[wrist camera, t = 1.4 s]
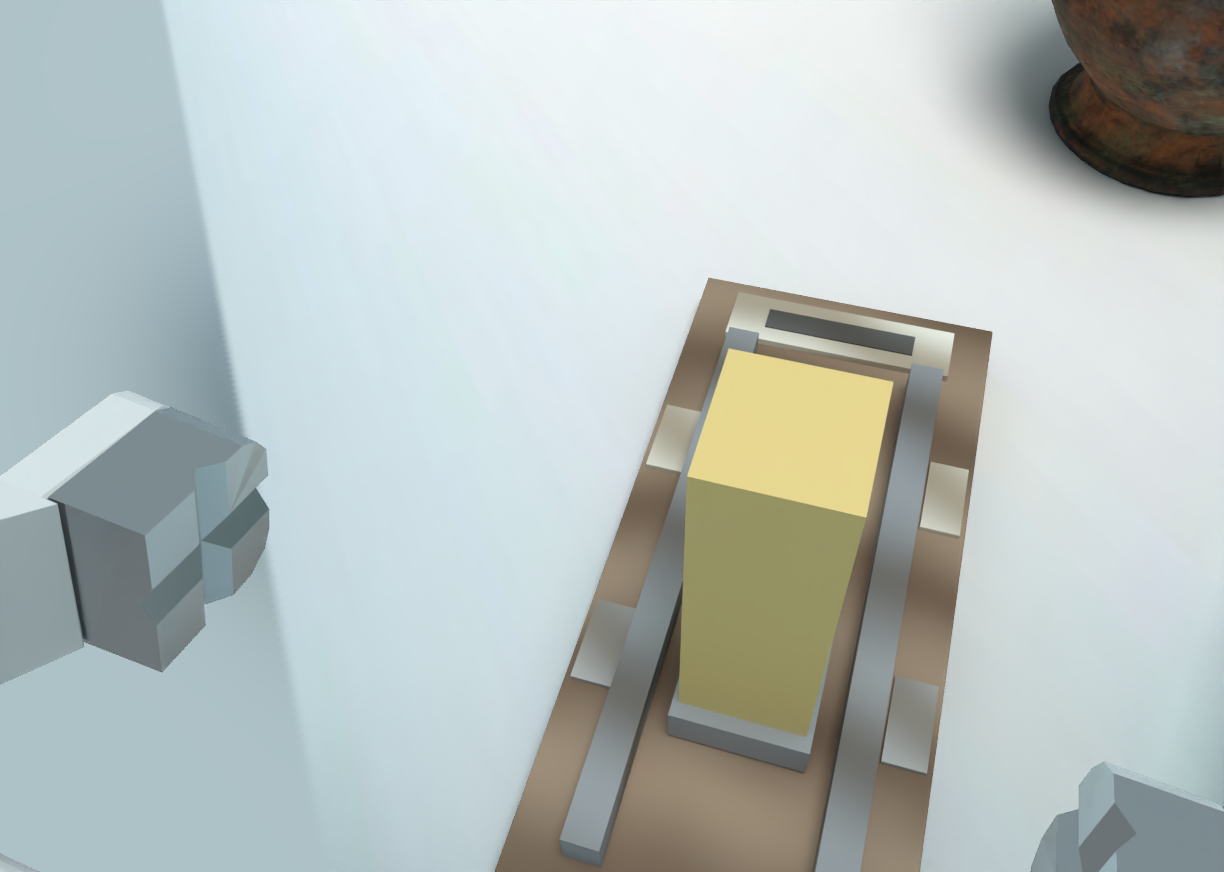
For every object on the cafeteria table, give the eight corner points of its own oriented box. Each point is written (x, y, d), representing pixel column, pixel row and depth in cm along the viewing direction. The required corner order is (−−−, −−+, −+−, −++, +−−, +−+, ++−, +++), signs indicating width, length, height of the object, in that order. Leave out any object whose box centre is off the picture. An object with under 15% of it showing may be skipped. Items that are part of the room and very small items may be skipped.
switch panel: (889, 1014, 32) (912, 988, 29) (502, 890, 34) (488, 855, 31) (981, 363, 47) (1001, 306, 44) (707, 310, 49) (710, 252, 46)
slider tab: (804, 772, 34) (872, 538, 23) (667, 734, 35) (672, 492, 24) (833, 633, 37) (905, 368, 26) (706, 601, 38) (725, 332, 27)
